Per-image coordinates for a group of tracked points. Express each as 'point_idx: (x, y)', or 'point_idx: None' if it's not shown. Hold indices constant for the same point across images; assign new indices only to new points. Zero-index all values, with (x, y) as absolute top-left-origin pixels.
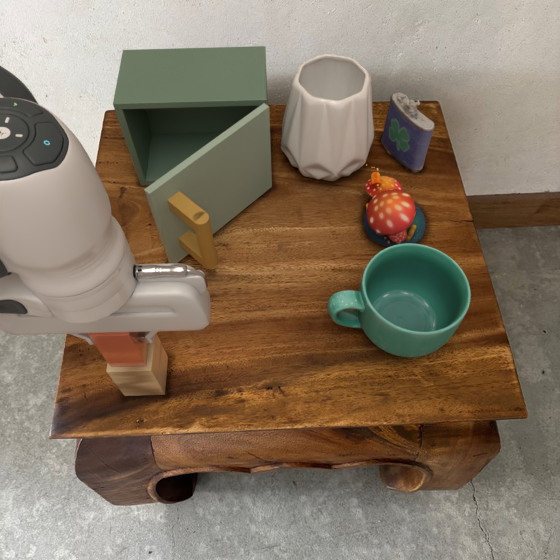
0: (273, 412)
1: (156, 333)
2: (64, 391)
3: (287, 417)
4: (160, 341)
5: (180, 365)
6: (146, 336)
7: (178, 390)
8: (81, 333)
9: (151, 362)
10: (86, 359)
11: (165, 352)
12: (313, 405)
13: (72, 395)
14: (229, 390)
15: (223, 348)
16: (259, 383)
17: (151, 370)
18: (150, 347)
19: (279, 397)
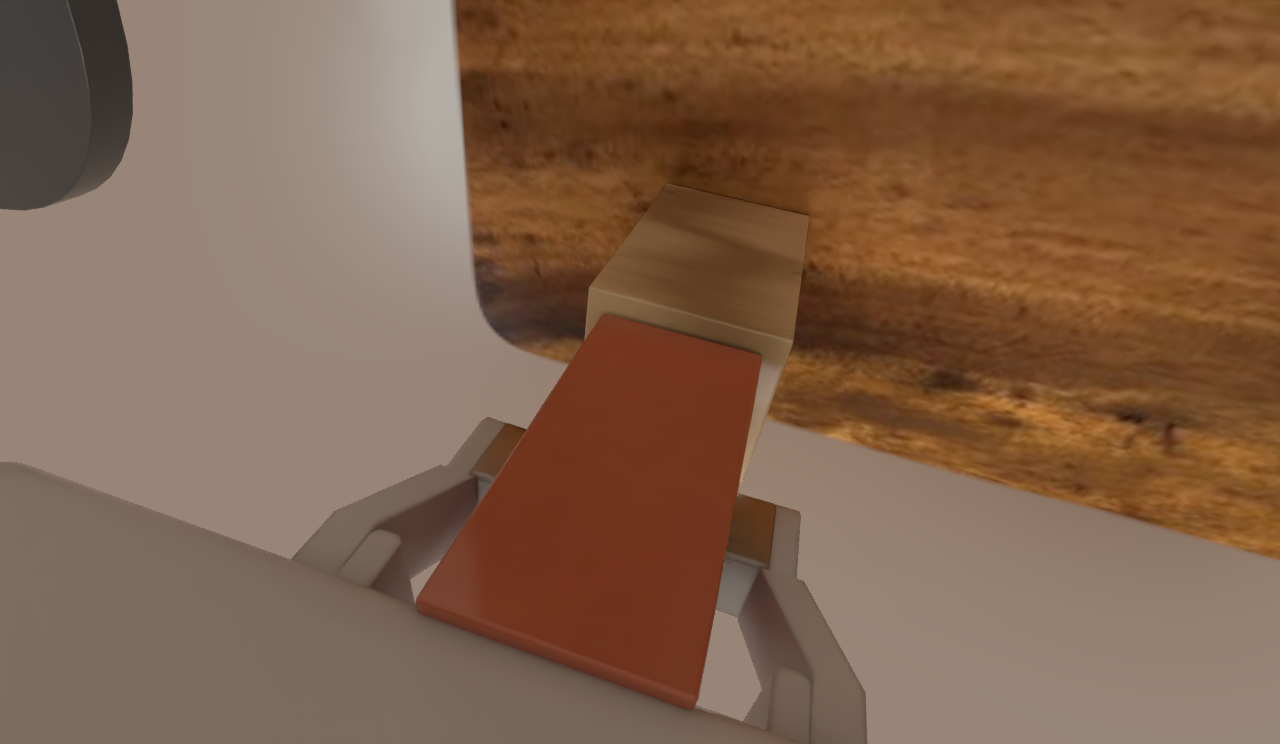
0: (1091, 479)
1: (794, 331)
2: (477, 240)
3: (1126, 503)
4: (800, 282)
5: (846, 257)
6: (748, 642)
7: (815, 335)
8: (417, 569)
9: (748, 461)
10: (523, 147)
11: (806, 238)
12: (1244, 506)
13: (501, 258)
14: (984, 384)
15: (1046, 236)
16: (1105, 395)
17: (743, 478)
18: (754, 410)
19: (1144, 452)
